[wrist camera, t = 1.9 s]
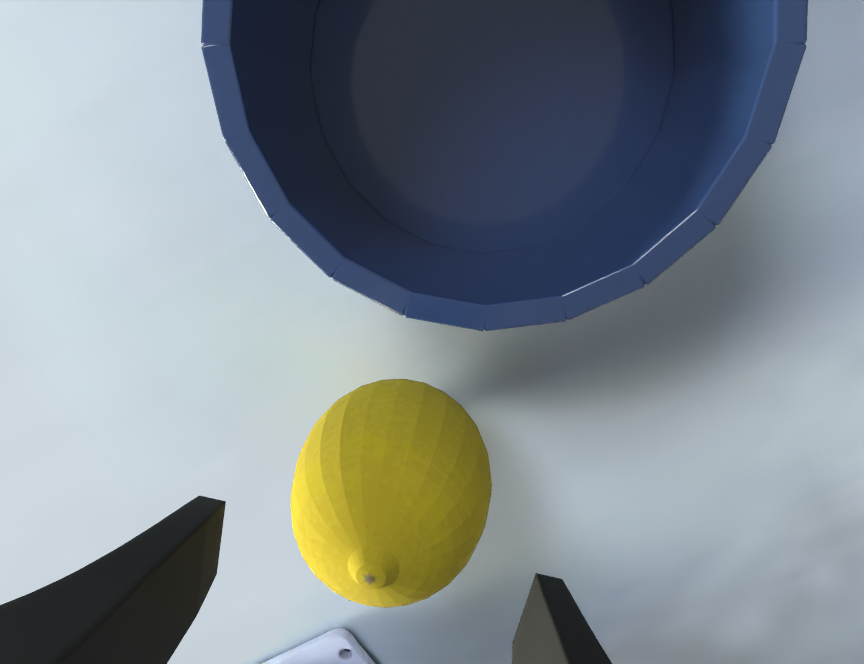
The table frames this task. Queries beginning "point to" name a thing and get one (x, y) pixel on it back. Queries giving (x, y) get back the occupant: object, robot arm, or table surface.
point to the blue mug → (499, 139)
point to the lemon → (391, 493)
